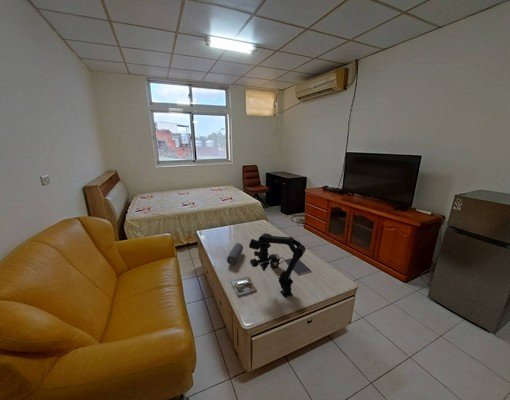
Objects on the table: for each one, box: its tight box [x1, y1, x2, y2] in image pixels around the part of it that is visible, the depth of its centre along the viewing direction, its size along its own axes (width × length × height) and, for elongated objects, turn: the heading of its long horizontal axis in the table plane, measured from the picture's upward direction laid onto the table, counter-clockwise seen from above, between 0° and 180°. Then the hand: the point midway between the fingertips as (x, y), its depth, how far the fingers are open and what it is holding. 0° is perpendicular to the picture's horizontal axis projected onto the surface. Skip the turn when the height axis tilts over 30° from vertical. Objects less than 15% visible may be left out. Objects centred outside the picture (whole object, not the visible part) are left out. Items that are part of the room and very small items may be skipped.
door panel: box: [230, 276, 258, 298], centre depth 154 cm, size 16×14×4 cm
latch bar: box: [238, 278, 252, 286], centre depth 155 cm, size 10×3×3 cm, turn 108°
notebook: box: [283, 257, 312, 276], centre depth 179 cm, size 13×2×21 cm
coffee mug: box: [269, 253, 285, 270], centre depth 176 cm, size 12×9×10 cm
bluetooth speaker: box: [226, 242, 244, 266], centre depth 188 cm, size 23×9×10 cm, turn 168°
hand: (263, 270), depth 153 cm, fingers closed
